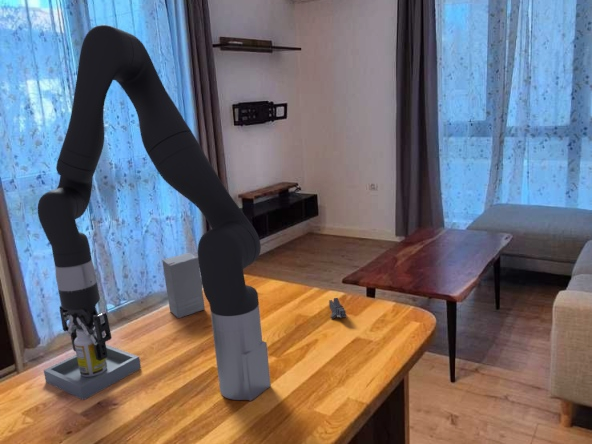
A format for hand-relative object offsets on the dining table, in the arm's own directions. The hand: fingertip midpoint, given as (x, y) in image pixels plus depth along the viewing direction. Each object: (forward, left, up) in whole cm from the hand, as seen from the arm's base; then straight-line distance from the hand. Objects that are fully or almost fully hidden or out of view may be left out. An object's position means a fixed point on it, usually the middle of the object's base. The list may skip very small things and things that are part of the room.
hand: (90, 354), depth 110 cm
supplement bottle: (0, 0, -4) cm, 4 cm away
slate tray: (0, 0, -5) cm, 5 cm away
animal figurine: (-31, -50, -5) cm, 59 cm away
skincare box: (+8, -34, -5) cm, 35 cm away
